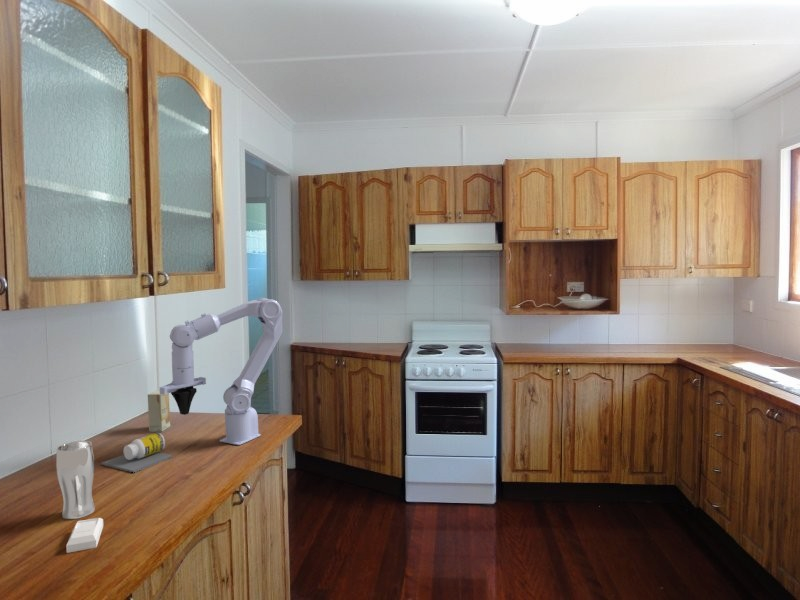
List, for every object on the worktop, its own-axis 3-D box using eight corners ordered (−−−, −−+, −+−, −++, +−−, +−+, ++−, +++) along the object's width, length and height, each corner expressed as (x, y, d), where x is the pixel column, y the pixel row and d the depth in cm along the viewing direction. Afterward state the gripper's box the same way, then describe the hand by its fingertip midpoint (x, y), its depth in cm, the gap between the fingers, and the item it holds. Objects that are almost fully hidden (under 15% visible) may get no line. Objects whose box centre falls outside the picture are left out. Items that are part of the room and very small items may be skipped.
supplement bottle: (167, 449, 151) (136, 462, 142) (155, 451, 153) (123, 463, 145) (163, 430, 151) (131, 442, 142) (151, 432, 153) (119, 443, 145)
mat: (141, 450, 154) (141, 448, 154) (172, 457, 148) (172, 455, 148) (101, 464, 144) (101, 462, 144) (133, 473, 138) (133, 470, 138)
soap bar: (66, 555, 101) (65, 541, 100) (76, 532, 109) (75, 519, 109) (96, 549, 102) (95, 536, 102) (103, 527, 111) (102, 515, 111)
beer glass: (73, 505, 120) (69, 440, 119) (103, 505, 120) (99, 440, 119) (52, 520, 113) (47, 451, 112) (84, 520, 113) (80, 451, 112)
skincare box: (162, 432, 170) (160, 394, 169) (148, 432, 170) (146, 394, 169) (171, 425, 176) (169, 389, 175) (158, 426, 176) (156, 389, 176)
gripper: (193, 361, 161) (194, 405, 162) (151, 370, 148) (153, 418, 149) (210, 363, 158) (211, 408, 159) (169, 372, 145) (170, 422, 146)
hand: (184, 413), depth 154 cm, fingers closed
